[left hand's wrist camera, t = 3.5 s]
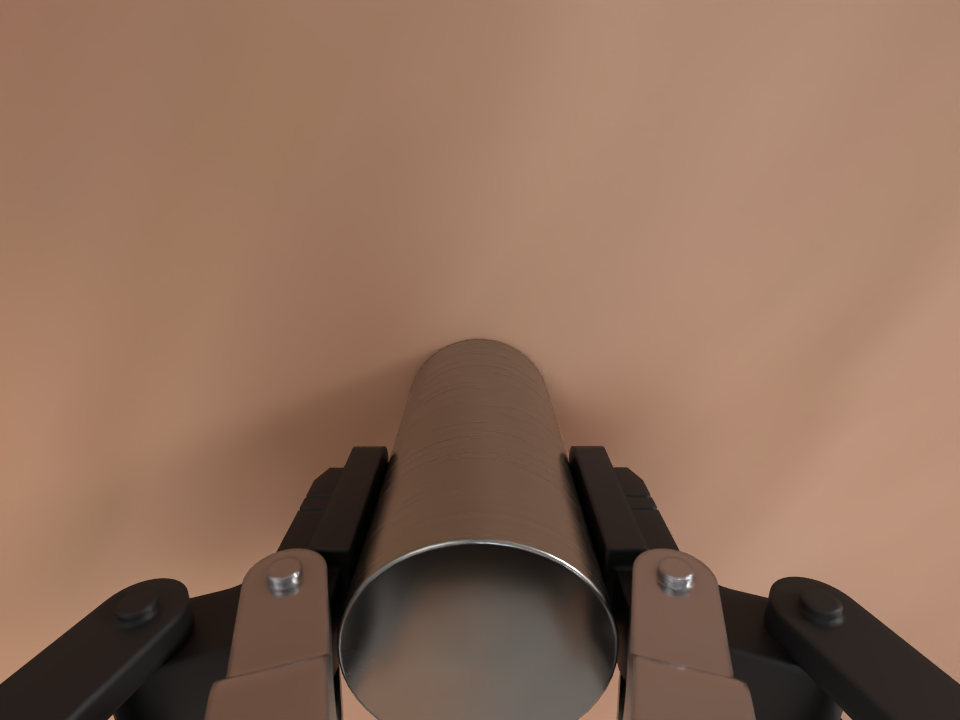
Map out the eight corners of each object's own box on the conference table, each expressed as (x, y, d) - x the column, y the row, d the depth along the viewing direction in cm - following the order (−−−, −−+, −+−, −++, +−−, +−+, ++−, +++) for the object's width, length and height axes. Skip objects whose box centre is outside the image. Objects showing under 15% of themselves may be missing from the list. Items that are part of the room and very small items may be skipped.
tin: (384, 420, 17) (285, 684, 8) (459, 311, 15) (434, 488, 7) (496, 485, 17) (511, 786, 9) (575, 387, 16) (680, 628, 8)
